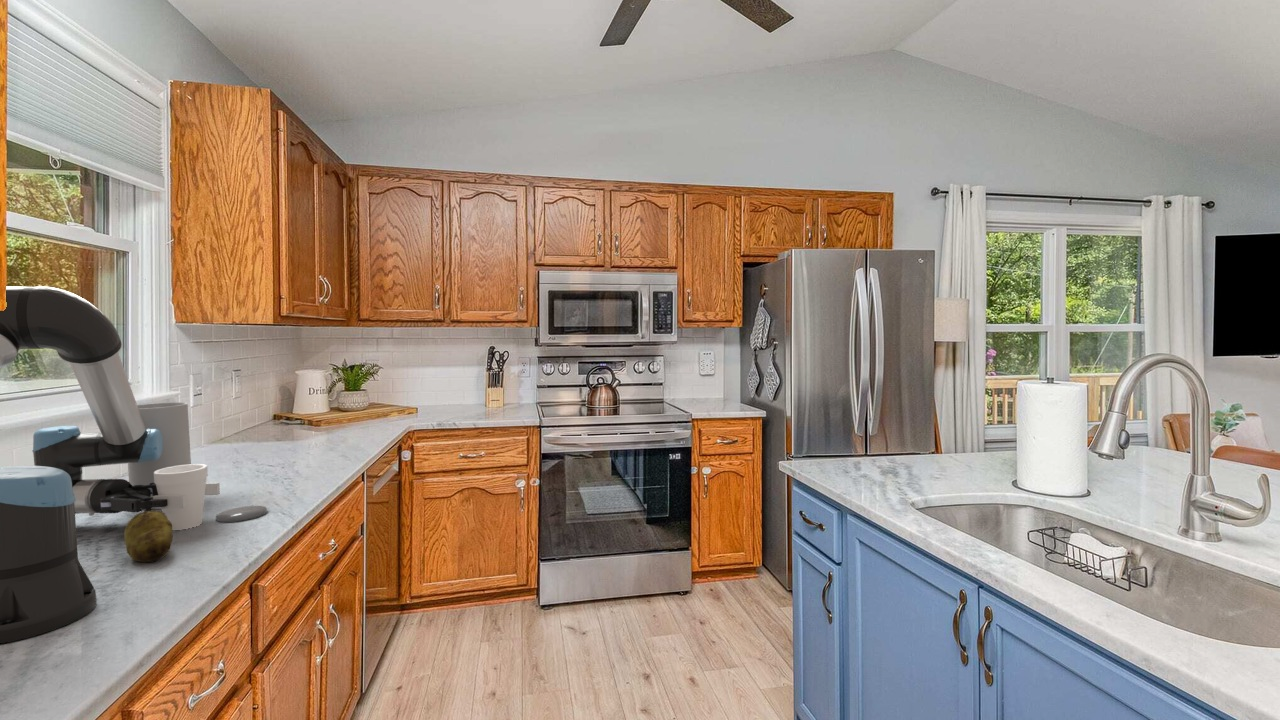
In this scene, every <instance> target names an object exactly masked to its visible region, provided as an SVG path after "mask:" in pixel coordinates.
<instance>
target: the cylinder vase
mask: <svg viewBox="0 0 1280 720" xmlns="http://www.w3.org/2000/svg"><path fill="white" fill-rule="evenodd" d="M137 406H138V409H139V412H140V414H141V417H142V420H143V423H144V425H145V429H148V428H149V429H158V430H159V431H160V432H161V434H162V438H163V450H162V454H161V456H160V457H159V458H158V459H156V460H151V461H144V462H140V463H127V472H128V473H127V474H128V482H129V483H130V484H131V485H132V486H135V485H149V484H150V483H154V472H155V471H156V470H159V469H163V468H167V467H173V466H179V465H188V464H192V458H191V443H190V442H191V440H190V426H189V425H190V424H189V423H190V422H189V404H188V402H183V401H182V402H181V401H179V402H177V401H174V402H172V401H171V402H158V403H157V402H156V403H146V404H145V403H143V404H137ZM151 497H153V495H152V494H151ZM152 509H153V507H152Z"/></svg>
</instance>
